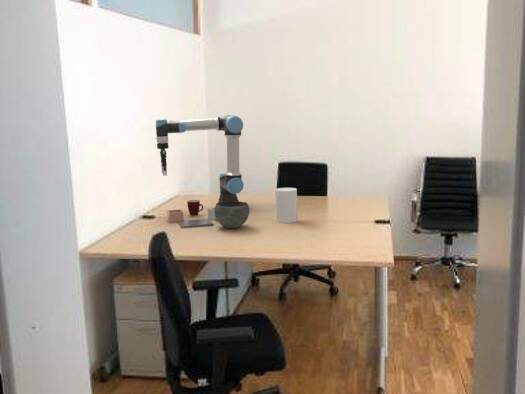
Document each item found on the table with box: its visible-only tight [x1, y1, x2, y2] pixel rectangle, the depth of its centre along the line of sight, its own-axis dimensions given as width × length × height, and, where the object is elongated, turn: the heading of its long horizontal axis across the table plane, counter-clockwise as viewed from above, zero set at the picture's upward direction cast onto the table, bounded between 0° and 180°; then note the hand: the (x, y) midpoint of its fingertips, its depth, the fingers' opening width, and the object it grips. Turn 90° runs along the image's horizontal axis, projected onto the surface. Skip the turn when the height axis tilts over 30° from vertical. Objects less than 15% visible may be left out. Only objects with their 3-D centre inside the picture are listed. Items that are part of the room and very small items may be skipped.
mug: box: [187, 199, 204, 216], centre depth 388 cm, size 10×8×10 cm
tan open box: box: [166, 208, 185, 224], centre depth 370 cm, size 9×9×7 cm
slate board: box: [176, 218, 214, 229], centre depth 363 cm, size 20×16×1 cm
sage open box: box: [207, 207, 218, 222], centre depth 375 cm, size 8×8×7 cm
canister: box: [274, 187, 298, 224], centre depth 365 cm, size 14×14×20 cm
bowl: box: [214, 201, 250, 229], centre depth 351 cm, size 21×21×15 cm
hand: (164, 174), depth 391 cm, fingers open, 13 cm apart
